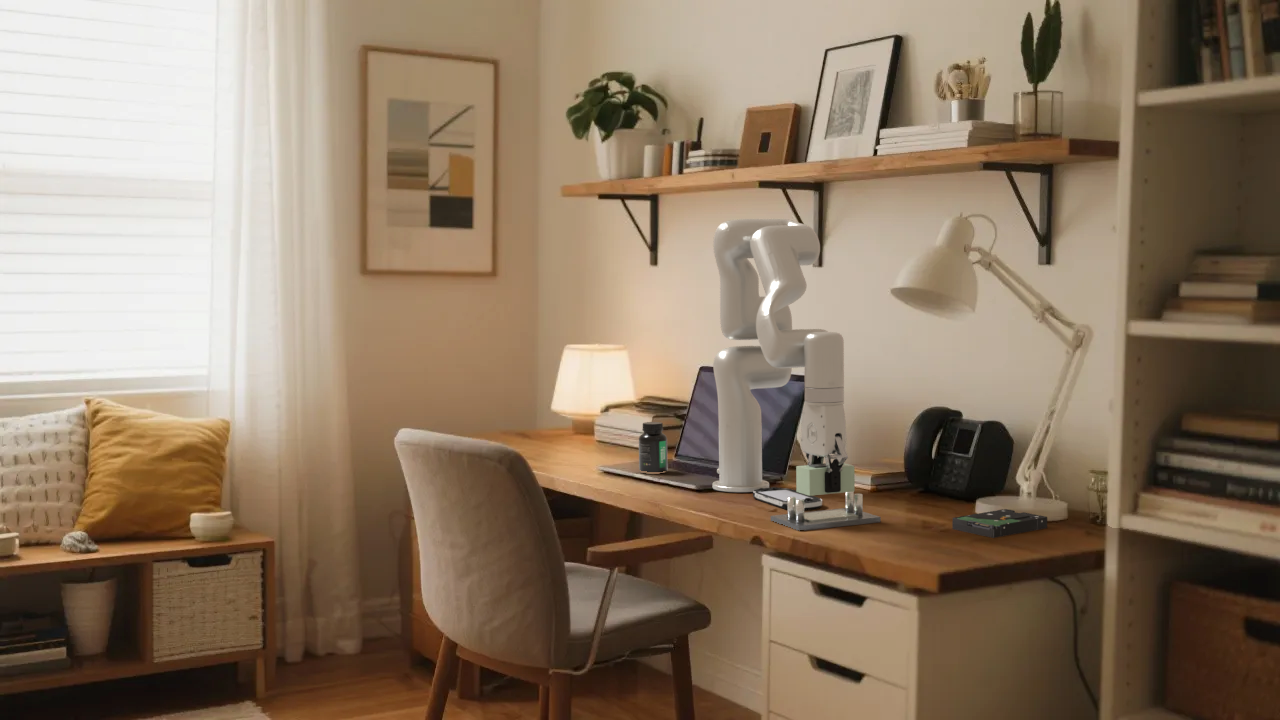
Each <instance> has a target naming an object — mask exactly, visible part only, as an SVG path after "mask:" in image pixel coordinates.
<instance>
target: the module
mask: <svg viewBox="0 0 1280 720" xmlns="http://www.w3.org/2000/svg"><path fill="white" fill-rule="evenodd" d="M831 464H832V462H831ZM795 468H796V469H795V473H796V475H795V476H796V477H795V479H796V480H795V481H796V484H795V486H796V489H795V490H796V492H799V493H802V494H805V495H809V496H821V495H830V494H831V495H833V494H841V493H842V494H844V493H845V492H855V491H856V490H855V480H856V479H855V465H852V464H850V463H845V462H844V464H843V466H842V471H841V491H840V492H832V493H826V492H825V472H827V468H826V462H825V463H824V462H823V464H812V465H808V464H807V465H796V466H795Z"/></svg>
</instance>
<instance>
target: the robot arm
mask: <svg viewBox="0 0 1280 720" xmlns="http://www.w3.org/2000/svg"><path fill="white" fill-rule="evenodd" d="M713 235H714V236H713V244H712V246H713V254H714V259H715V263H716V266H717V269H718V274H719V319H720V321H719V322H720V329H721V333H722V335H723V336H724V337H725V338H726V339H728V340H733V341H750V340H751V341H755V340H756V341H757V340H758V342H759V345H737V346H730V347H729V346H728V347H724V348H723V349H721V350H719V351H718V352H717V353H716V355H715V356H714V359H713V362H712V363H713V364H712V367H713V375H714V380H715V386H716V394H717V406H718V409H717V410H718V411H717V412H718V413H717V414H718V416H717V417H718V468H717V469H716V473H717V474H719V478H718V479H719V480H715V481H713V482H712V489H713V490H714V491H719V492H727V493H753V491H754V490H756V489H760V488H770V482H769V481H767V480H765V479H763V450H762V448H763V444H762V443H763V442H762V440H763V438H762V436H763V435H762V433H763V432H762V431H763V429H762V425H763V424H762V423H763V422H762V408H761V405H760V404H759V402H758V400H757V399H756V397H755V396H754V395H753V393H752V391H751V390H755V389H756V390H757V389H773V388H781V387H783V386H786V385H787V384H788V383H789V382H790V379H791V376H792V372H793V371H792V369H794V368H795V369H797V368H804V402H803V403H804V404H803V407H802V415H801V422H800V425H801V426H800V449H801V450H802V452H803V453H805V456H806V458H807V465H812V464H823V463H824V462H825V463H826V468H827V472H825V492H826V493H832V492H840V491H841V471H842V466H843V464H844V463H845V462H846V460H847V459H849V457H848V453H847V426H846V425H847V423H846V413H845V408H844V404H845V363H844V362H845V351H844V350H845V348H844V347H845V346H844V343H845V342H844V338H843V337H844V336H843V335H842V334H841V333H839V332H837V331H828V330H826V329H821V328H820V329H819V328H808V329H807V328H806V329H804V328H802V329H801V328H799V329H793V319H792V311H791V309H790V306H789V305H791V304H794V303H795V302H796V301H798V300H799V299H801V298H802V297H803V296H804V294H805V292H806V291H807V281H806V277H805V276H804V272H803V270H802V267H801V266H811V265H813V264H815V263H816V262H817V261H818V259H819V257H820V254H821V253H820V252H821V244H820V240H819V237H818V235H817V233H816V231H815V230H814V229H813V228H812V227H811V226H809V225H808V224H805V223H801V222H798V221H795V220H793V219H792V220H791V219H786V218H739V219H732V220H731V219H730V220H727V221H723V222H722V223H721V224H719V225H718V226H717V227H716V230H715V232H714V234H713ZM749 259H753V260H754V263H755V266H756V269H757V270H756V269H755V267H754V265H753V264H752V262H751V261H750V260H749ZM760 281H761V284H762V287H763V290H764V293H765V296H760V294H759V291H760V290H759V288H760V287H759V286H760V285H759V283H760ZM824 460H825V461H824ZM831 463H832V464H831Z"/></svg>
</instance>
